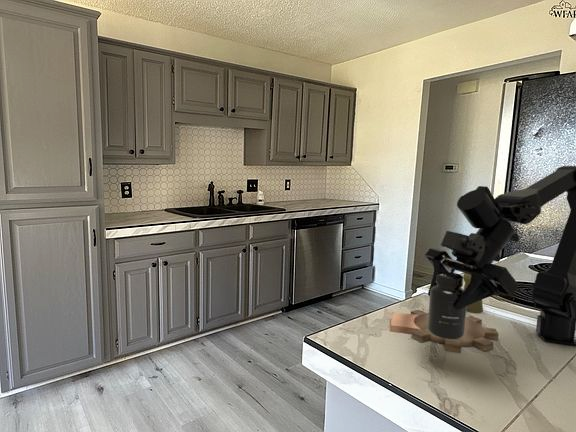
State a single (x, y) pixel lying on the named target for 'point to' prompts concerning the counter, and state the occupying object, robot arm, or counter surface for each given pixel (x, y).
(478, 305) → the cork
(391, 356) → the counter surface
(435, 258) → the robot arm
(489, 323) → the counter surface
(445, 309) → the supplement bottle
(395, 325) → the sprocket plate
